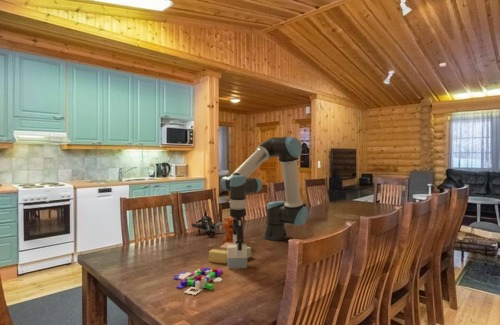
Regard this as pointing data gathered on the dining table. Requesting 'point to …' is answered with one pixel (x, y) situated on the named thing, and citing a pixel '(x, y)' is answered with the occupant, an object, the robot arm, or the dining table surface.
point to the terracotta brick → (225, 246)
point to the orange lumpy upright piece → (228, 229)
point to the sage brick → (248, 252)
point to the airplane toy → (206, 224)
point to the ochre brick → (218, 256)
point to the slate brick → (236, 262)
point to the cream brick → (232, 251)
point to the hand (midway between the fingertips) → (237, 252)
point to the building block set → (198, 279)
